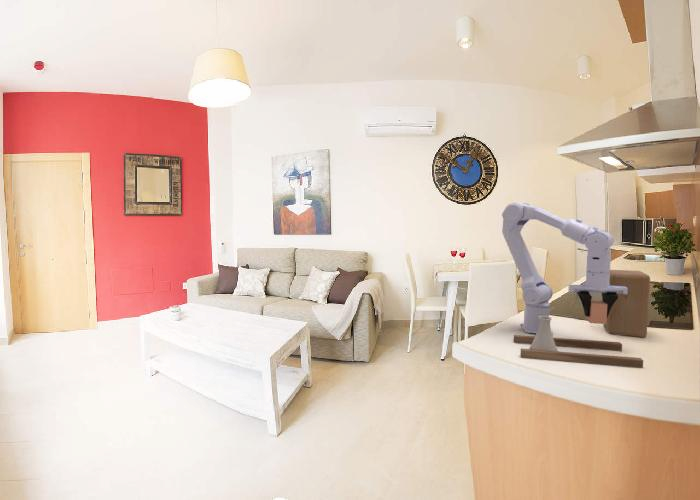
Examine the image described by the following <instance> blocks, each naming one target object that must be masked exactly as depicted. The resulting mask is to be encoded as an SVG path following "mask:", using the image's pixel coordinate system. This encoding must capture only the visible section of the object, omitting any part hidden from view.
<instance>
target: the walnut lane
mask: <svg viewBox="0 0 700 500" xmlns="http://www.w3.org/2000/svg"><path fill="white" fill-rule="evenodd" d="M535 336H536V335H519V334H514V335H513V342H514V344H526V345H528V344H529V345H531V344H532V342H533V340H534V338H535ZM553 339H554V342H555V345H556V347H566V348H567V347H568V348H580V349H593V350H606V351H608V350H609V351H617V352H618V351H619V352H622V351H623V343H621V342H620V341H607V340H591V339H581V338H579V339H578V338H564V337H553ZM520 357H521V358H525V359H537V360H548V361H558V362H559V361H560V362H570V363H580V364H581V363H583V364H595V365H596V364H597V365H607V366H615V367H616V366H617V367H630V368H639V369H641V368H644V360H643V359H642V358H641V357H633V356H632V357H631V356H620V355H610V354H609V355H606V354H595V353H585V352H584V353H582V352H572V351H570V352H568V351H547V350H535V349H531V348H522V347H521V348H520Z"/></svg>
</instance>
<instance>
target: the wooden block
mask: <svg viewBox="0 0 700 500" xmlns="http://www.w3.org/2000/svg"><path fill="white" fill-rule="evenodd" d="M650 283H651V277H650V275H648V274H647V273H645V272H643V271H641V270H627V269H625V270H624V269H610V281H609V285H610V286H624V287H627V288H628V290H627V294H622V293H617V295H618V299H617V300H616V301H615V303H614V304H613V306H612V307H611V309H610V312H609V315H608V318H607V323H606V324H603V327H604V328H605V329H606V331H607V333H609V334H612V335H618V336H619V335H620V336H628V337H629V336H630V337H637V338H646V336H647V335H648V321H649V319H648V318H649V305H650V304H649V303H650V302H649V301H650V287H651V285H650Z"/></svg>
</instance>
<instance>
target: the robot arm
mask: <svg viewBox="0 0 700 500" xmlns="http://www.w3.org/2000/svg"><path fill="white" fill-rule="evenodd" d="M501 216H502V235H503V237H504V240H505V243H506V244H507V247H508V250H509V252H510V255H511V256H512V257H511V258H513V261H514V263H515V266H516V268H517V270H518V273H519V275H520V278H521V283H520V288H521V289H522V299H523V301H524V302H525V303H524V304H525V305H524V308H523V311H524V312H523V323H522V322H521V323H520V326H521V327H522V329H523V330H524V332H525V333H527V334H536V333H537V331H538V328H539V324H540V319H539V316H548V317H550V306H551V305H550V300H551V299H552V298H553V289H552V288H551V286H550V285H548V284H547V282H546V281H545V279H544V278H543V277H542V276H541V275H540V274H539V272H538V270H537V268H536V266H535V263H534V261H533V258H532V256H531V254H530V251H529V250H528V247H527V245H526V243H525V240H524V237H523V236H522V234H521V232H522V230H523V228H524V226H525V225H526V224H527V223H528V222H529V221H530V220H537V221H539V222H541V223H544V224H547V225H549V226H551V227H553V228H555V229H558V230H559V231H561V235H562V236H564V237H566V238H568V239H570V240H573V241H574V242H576V243H579V244H581V245H585V248H586V249H587V254H586V255H587V256H586V274H585V284H568V291H569V292H570V293H576V294H577V296H578V298H579V299H580V302H581V304H582V307H583V311H584V316H585V317H586V316H587V317H590V304H591V300H593V299H592V298H593V296H592V295H591V293H597V294H599V293H600V294H601V298H602V300H601V301H603V302H605V303H606V304H607V318H608V315H609V312H610V309H611V307H612V306H613V304H614V303H615V301H616V300H617V299H618V295H617V293H622V294H627V290H628V288H627V287H624V286H610V285H609V281H610V270H611V258H612V257H611V253H612V252H611V247H612V246H613V245H614V237H613V235H612V234H611V233H609V232H608V231H606V230H599V227H597V226H590V225H589V224H586V223H584V222H583V220H582V219H580V218H576V219H574V218H571V219H568V220H566V219H564V218H562V217H560V216H558V215H556V214H554V213H552V212H549V211H548V210H545V209H544V208H542V207H539V206H536V205H533V204H532V205H531V204H529V203H527V202H526V203H517V202H512V203H508V204H507V205H506V206H505V208H504V210H503V211H502V213H501ZM551 333H552V335H553V334H554V332H552V331H551Z"/></svg>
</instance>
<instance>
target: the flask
mask: <svg viewBox="0 0 700 500" xmlns="http://www.w3.org/2000/svg"><path fill="white" fill-rule="evenodd" d="M539 319H540V324H539V328H538V331H537V333H535V335H534V336H535V338H534V340H533V342H532V344H530V347H529V349H535V350H547V351H558V348H557V346H556V345H555V342H554V339H553V338H554V336H553V334H552V333H553V332H552V329H551V321H552V316H549V317H548V316H539ZM551 332H552V333H551Z"/></svg>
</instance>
